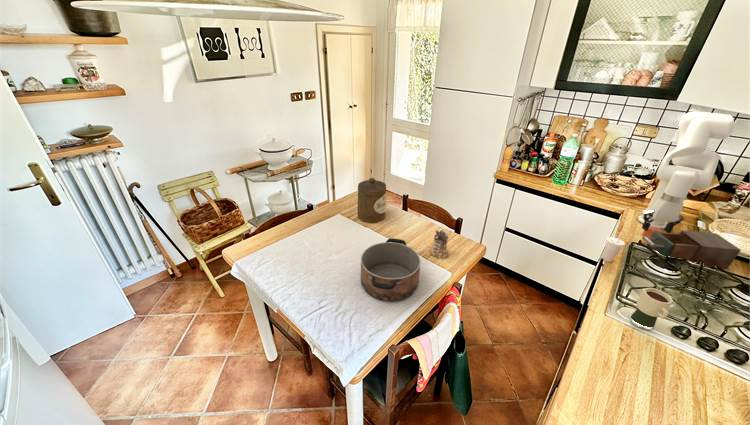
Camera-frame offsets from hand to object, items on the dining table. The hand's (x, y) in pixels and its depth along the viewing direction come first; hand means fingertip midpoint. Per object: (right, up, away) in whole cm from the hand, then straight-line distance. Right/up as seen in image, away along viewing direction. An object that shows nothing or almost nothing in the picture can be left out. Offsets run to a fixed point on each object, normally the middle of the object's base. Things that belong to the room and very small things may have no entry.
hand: (655, 230), depth 146 cm
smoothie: (-33, -12, -13) cm, 37 cm away
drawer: (-5, -9, -9) cm, 14 cm away
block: (0, -4, +3) cm, 5 cm away
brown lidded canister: (-137, +7, +18) cm, 138 cm away
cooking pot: (-129, -18, -27) cm, 134 cm away
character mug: (-46, -29, -44) cm, 70 cm away
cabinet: (+9, -11, -11) cm, 18 cm away
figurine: (-107, -10, -11) cm, 108 cm away
